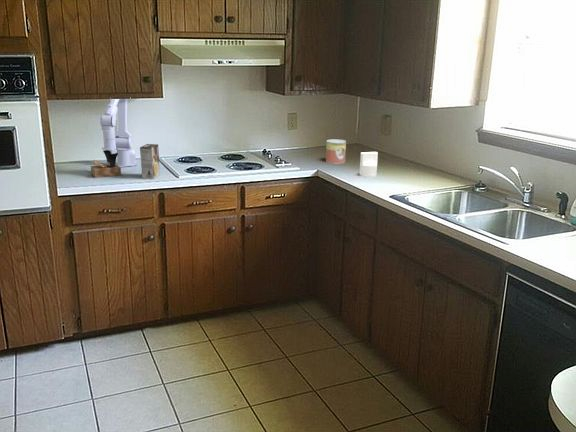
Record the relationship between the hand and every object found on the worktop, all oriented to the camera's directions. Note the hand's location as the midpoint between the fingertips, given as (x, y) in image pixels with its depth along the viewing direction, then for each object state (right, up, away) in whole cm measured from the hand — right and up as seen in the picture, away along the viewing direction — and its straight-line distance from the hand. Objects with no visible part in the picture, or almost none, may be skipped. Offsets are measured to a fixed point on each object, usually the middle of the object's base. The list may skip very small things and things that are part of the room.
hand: (111, 165), depth 307 cm
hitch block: (-3, -5, 0) cm, 6 cm away
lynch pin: (0, -4, +1) cm, 4 cm away
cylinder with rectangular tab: (+134, -5, +8) cm, 134 cm away
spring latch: (-6, 0, -3) cm, 7 cm away
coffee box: (+21, -6, -3) cm, 22 cm away
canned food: (+119, +5, +38) cm, 125 cm away
